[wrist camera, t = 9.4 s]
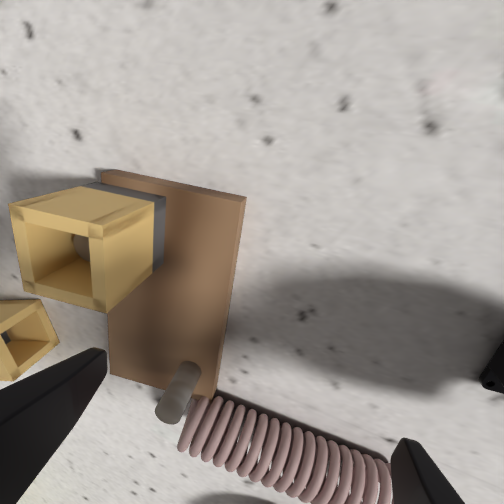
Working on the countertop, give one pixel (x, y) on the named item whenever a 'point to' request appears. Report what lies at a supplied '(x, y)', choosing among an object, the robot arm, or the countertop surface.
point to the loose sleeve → (100, 243)
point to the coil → (283, 456)
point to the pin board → (177, 295)
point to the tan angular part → (23, 336)
